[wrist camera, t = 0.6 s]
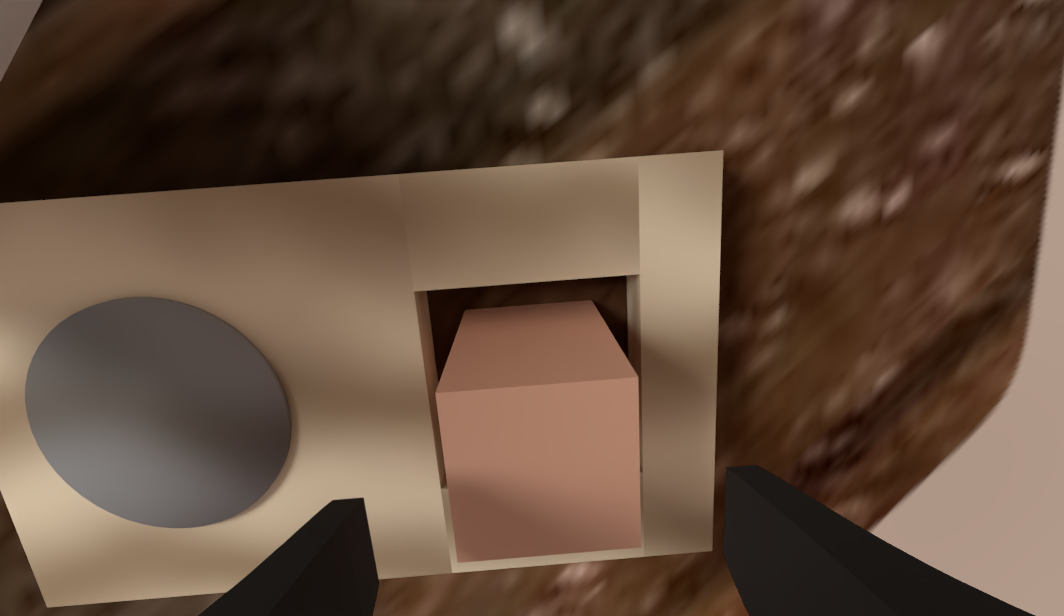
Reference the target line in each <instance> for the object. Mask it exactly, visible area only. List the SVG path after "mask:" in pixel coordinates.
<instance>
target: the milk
mask: <svg viewBox="0 0 1064 616" xmlns="http://www.w3.org/2000/svg"><path fill="white" fill-rule="evenodd" d="M42 1H43V0H0V82H1V80H2V78H3V76H4V74H5V72H6V70H7V68H8V66H9V64H10V63H11V61H12V59H13V57H14V55H15V53H16V51H17V49H18V47H19V45H20V43H21V41H22V39H23V37H24V36H25V34H26V32H27V30H28V28H29V26H30V24H31V22H32V20H33V18H34V16H35V14H36V12H37V10H38V9H39V7H40V5H41V3H42Z"/></svg>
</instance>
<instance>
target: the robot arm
mask: <svg viewBox="0 0 1064 616" xmlns="http://www.w3.org/2000/svg"><path fill="white" fill-rule="evenodd" d="M723 555H724V557H725V560H726V562H727V565H728V567H729V570H730V572H731V575H732V577H733V580H734V582H735V585H736V587H737V589H738V592H739V594H740V597H741V599H742V601H743V604H744V606H745V608H746V610H747V611H748V613H749V615H750V616H1035V615H1032V614H1030V613H1028V612H1025V611H1023V610H1021V609H1019V608H1016V607H1014V606H1012V605H1010V604H1008V603H1006V602H1004V601H1001V600H999V599H997V598H995V597H993V596H991V595H989V594H987V593H984V592H982V591H980V590H978V589H976V588H974V587H972V586H970V585H968V584H966V583H963V582H961V581H959V580H957V579H955V578H953V577H951V576H949V575H947V574H945V573H943V572H941V571H939V570H937V569H935V568H933V567H931V566H929V565H928V564H925V563H924V562H922V561H920V560H918V559H916V558H915V557H913V556H911V555H909V554H907V553H906V552H904V551H902V550H900V549H898V548H896V547H894V546H893V545H891V544H889V543H887V542H885V541H883V540H882V539H880V538H878V537H876V536H875V535H873V534H871V533H870V532H868V531H866V530H864V529H863V528H861V527H859V526H858V525H856V524H854V523H852V522H851V521H849V520H847V519H846V518H844V517H842V516H841V515H839V514H837V513H836V512H834V511H832V510H831V509H829V508H828V507H826V506H824V505H823V504H821V503H819V502H818V501H816V500H815V499H813V498H811V497H810V496H808V495H806V494H805V493H803V492H802V491H800V490H798V489H797V488H795V487H793V486H792V485H790V484H789V483H787V482H785V481H784V480H782V479H780V478H779V477H777V476H775V475H774V474H772V473H770V472H769V471H767V470H765V469H763V468H761V467H759V466H758V465H751V466H738V467H726V486H725V514H724V542H723ZM378 587H379V579H378V573H377V568H376V562H375V557H374V551H373V546H372V541H371V535H370V530H369V524H368V519H367V513H366V508H365V503H364V497H363V498H350V499H338V500H332V501H331V502H330V503H328V504H327V505H326V506H325V507H323V508H322V509H321V510H320V511H319V512H318V513H317V514H315V515H314V516H313V517H312V518H311V519H310V520H309V521H308V522H306V523H305V524H304V525H303V526H302V527H301V528H300V529H299V530H298V531H296V532H295V533H294V534H293V535H292V536H291V537H290V538H289V539H288V540H286V541H285V542H284V543H283V544H282V545H281V546H280V547H279V548H277V549H276V550H275V551H274V552H273V553H272V554H271V555H270V556H268V557H267V558H266V559H265V560H264V561H263V562H262V563H261V564H259V565H258V566H257V567H256V568H255V569H254V570H253V571H252V572H250V573H249V574H248V575H247V576H246V577H245V578H243V579H242V580H241V581H240V582H239V583H237V584H236V585H235V586H234V587H232V588H231V589H230V590H229V591H228V592H226V593H225V594H224V595H223V596H222V597H220V598H219V599H218V600H217V601H215V602H214V603H213V604H212V605H211V606H209V607H208V608H207V609H206V610H205V611H203V612H202V613H201V614H200V615H198V616H373V611H374V606H375V602H376V597H377V592H378Z"/></svg>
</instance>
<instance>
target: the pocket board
mask: <svg viewBox="0 0 1064 616" xmlns="http://www.w3.org/2000/svg"><path fill="white" fill-rule="evenodd" d="M722 179H723V150H721V151H708V152H694V153H680V154H667V155H653V156H639V157H626V158H612V159H598V160H585V161H571V162H557V163H544V164H530V165H516V166H503V167H489V168H475V169H462V170H448V171H434V172H421V173H407V174H393V175H380V176H366V177H352V178H338V179H325V180H311V181H297V182H284V183H270V184H256V185H243V186H229V187H215V188H202V189H188V190H174V191H161V192H147V193H133V194H120V195H106V196H92V197H79V198H65V199H51V200H38V201H24V202H10V203H0V490H1V493H2V495H3V498H4V500H5V503H6V505H7V508H8V510H9V513H10V515H11V518H12V520H13V523H14V525H15V528H16V530H17V533H18V535H19V538H20V540H21V543H22V545H23V548H24V550H25V553H26V555H27V558H28V560H29V563H30V565H31V568H32V570H33V573H34V575H35V578H36V580H37V583H38V585H39V588H40V590H41V593H42V595H43V598H44V600H45V603H46V605H47V607H58V606H70V605H81V604H93V603H105V602H117V601H129V600H140V599H152V598H164V597H176V596H187V595H199V594H211V593H223V592H228V591H229V590H230V589H231V588H232V587H234V586H235V585H236V584H237V583H239V582H240V581H241V580H242V579H243V578H245V577H246V576H247V575H248V574H249V573H250V572H252V571H253V570H254V569H255V568H256V567H257V566H258V565H259V564H261V563H262V562H263V561H264V560H265V559H266V558H267V557H268V556H270V555H271V554H272V553H273V552H274V551H275V550H276V549H277V548H279V547H280V546H281V545H282V544H283V543H284V542H285V541H286V540H288V539H289V538H290V537H291V536H292V535H293V534H294V533H295V532H296V531H298V530H299V529H300V528H301V527H302V526H303V525H304V524H305V523H306V522H308V521H309V520H310V519H311V518H312V517H313V516H314V515H315V514H317V513H318V512H319V511H320V510H321V509H322V508H323V507H325V506H326V505H327V504H328V503H330V502H331V501H332V500H338V499H350V498H363V497H364V503H365V508H366V513H367V519H368V524H369V530H370V535H371V541H372V546H373V551H374V557H375V562H376V568H377V573H378V579H387V578H399V577H411V576H423V575H434V574H446V573H458V572H470V571H481V570H493V569H505V568H517V567H529V566H540V565H552V564H564V563H576V562H587V561H599V560H611V559H623V558H634V557H646V556H658V555H670V554H681V553H693V552H705V551H712V541H713V505H714V469H715V433H716V396H717V360H718V324H719V288H720V252H721V215H722ZM623 275H626V277H627V323H628V361H629V363H630V364H631V366H632V368H633V369H634V371H635V372H636V374H637V376H638V388H639V448H640V507H641V548H629V549H617V550H605V551H593V552H582V553H570V554H558V555H546V556H534V557H522V558H511V559H499V560H487V561H475V562H463V563H458V562H457V555H456V547H455V540H454V532H453V524H452V517H451V509H450V502H449V494H448V486H447V479H446V471H445V463H444V456H443V448H442V441H441V433H440V425H439V418H438V410H437V402H436V395H435V393H436V390H437V387H438V384H439V383H438V375H437V368H436V360H435V352H434V344H433V337H432V329H431V321H430V313H429V306H428V298H427V290H441V289H454V288H467V287H480V286H493V285H506V284H519V283H532V282H545V281H558V280H571V279H584V278H597V277H610V276H623Z"/></svg>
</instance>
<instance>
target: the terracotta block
mask: <svg viewBox="0 0 1064 616" xmlns="http://www.w3.org/2000/svg"><path fill="white" fill-rule="evenodd" d="M435 395H436V402H437V410H438V418H439V425H440V433H441V441H442V448H443V456H444V463H445V471H446V479H447V486H448V494H449V502H450V509H451V517H452V524H453V532H454V540H455V547H456V555H457V562H458V563H463V562H475V561H487V560H499V559H511V558H522V557H534V556H546V555H558V554H570V553H582V552H593V551H605V550H617V549H629V548H641V507H640V448H639V388H638V376H637V374H636V372H635V371H634V369H633V368H632V366H631V364H630V363H629V361H628V359H627V358H626V356H625V354H624V353H623V351H622V349H621V348H620V346H619V344H618V343H617V341H616V339H615V338H614V336H613V335H612V333H611V331H610V330H609V328H608V326H607V325H606V323H605V321H604V320H603V318H602V316H601V315H600V313H599V311H598V310H597V308H596V306H595V305H594V303H593V302H592V300H586V301H573V302H560V303H547V304H534V305H521V306H508V307H496V308H483V309H470V310H465V311H464V314H463V317H462V320H461V323H460V325H459V328H458V331H457V334H456V337H455V339H454V342H453V345H452V348H451V351H450V353H449V356H448V359H447V362H446V365H445V367H444V370H443V373H442V376H441V379H440V381H439V384H438V387H437V390H436V393H435Z"/></svg>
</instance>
